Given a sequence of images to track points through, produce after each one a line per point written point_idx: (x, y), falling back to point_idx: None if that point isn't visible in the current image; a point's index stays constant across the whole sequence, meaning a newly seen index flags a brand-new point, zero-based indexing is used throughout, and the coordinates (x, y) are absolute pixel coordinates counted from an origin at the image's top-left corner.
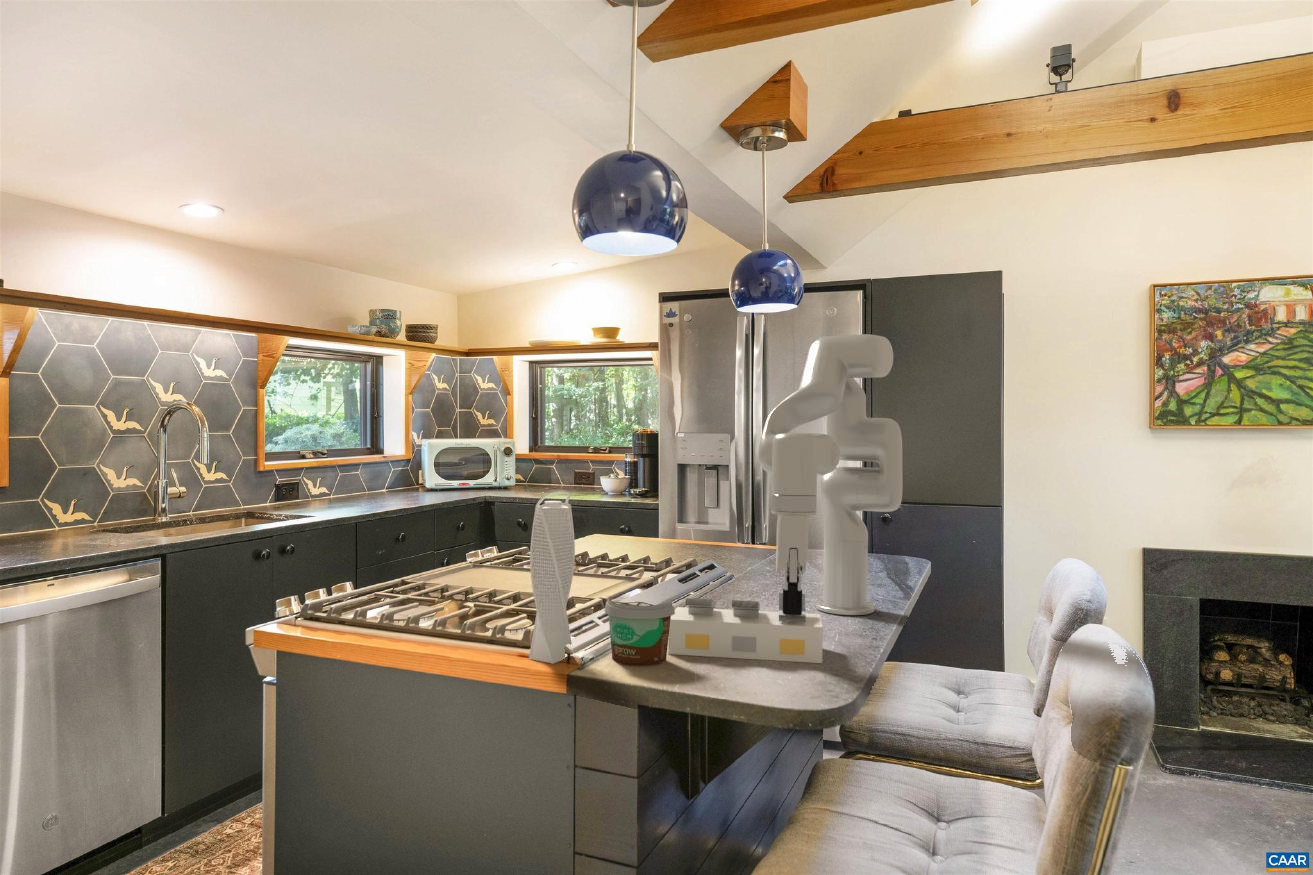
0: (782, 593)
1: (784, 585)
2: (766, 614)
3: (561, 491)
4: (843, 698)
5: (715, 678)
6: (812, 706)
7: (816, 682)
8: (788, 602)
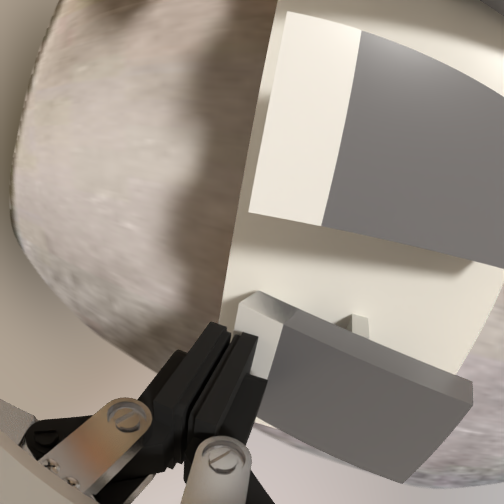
0: (461, 417)
1: (244, 458)
2: (445, 276)
3: None
4: (53, 286)
5: (114, 48)
6: (22, 226)
7: (108, 273)
8: (162, 370)
